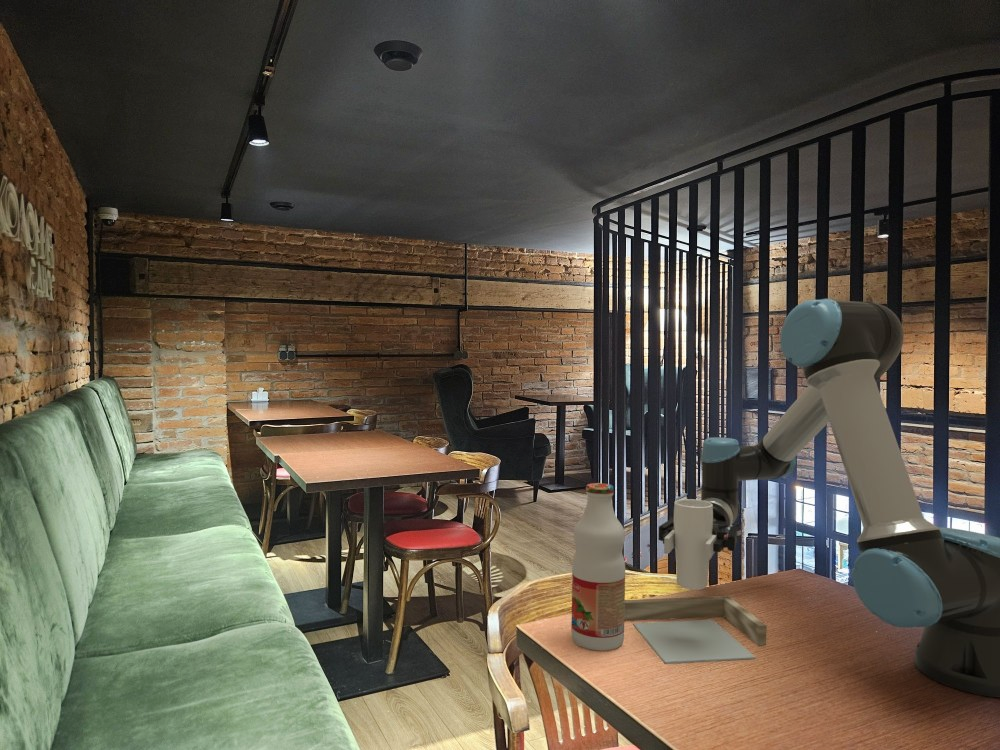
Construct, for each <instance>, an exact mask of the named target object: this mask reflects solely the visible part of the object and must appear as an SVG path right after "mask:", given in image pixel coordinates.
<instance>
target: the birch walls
mask: <svg viewBox="0 0 1000 750" xmlns="http://www.w3.org/2000/svg"><path fill="white" fill-rule="evenodd" d="M721 617H722V618H725V619H726V620H728V621H729V622H730V623H731V624H732V625H733V626H734V627H736V628H737V629H738V630H739V631H740V632H742V633H743V634H744V635H745V636H747V638H748V639H750V640H751V641H753V642H754V643H755V644H756V645H757V646H766V645H767V629H768V628H767V626H768V625H766V624H765V623H764V622H763V621H761V620H760V619H759V618H757V616H755V615H754V614H752V613H751V612H750V611H748V609H745V608H744V606H742V605H740V604H739V603H738V602H737V601H735V600H734V599H732V598H731V597H730V596H728V595H720V596H718V595H717V596H694V597H665V598H662V597H661V598H642V599H641V598H640V599H639V598H638V599H625V615H624V622H627V621H629V620H630V621H648V620H649V621H653V620H671V619H670V618H678V619H701V618H721ZM626 620H627V621H626ZM630 621H629V622H630Z"/></svg>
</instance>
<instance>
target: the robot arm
mask: <svg viewBox="0 0 1000 750" xmlns="http://www.w3.org/2000/svg"><path fill="white" fill-rule="evenodd" d="M779 339H780V341H779V342H780V348H781V349H780V350H781V353H782V354H783V357H784V358H785V359H786V361H787V362H789V363H791V364H792V365H794V366H796V367H799V368H802V372H803V374H804V377H805V380H806V383H807V384H808V386H807V387H806V388H805V389H804V391H802V393H801V394H800V395H799V396H798V397H797V399H796V400H795V401H794V402H793V403H792V404H791V405H790V406H789V408H788V409H787V410H786V411H785V412H784V414H782V416H781V417H780V418H779V420H777V421H776V423H774V425H772V427H771V428H770V429H769V431H768V432H766V434H765V435H764V437H762V439H761V440H760V441H759V442H758V443H757V444H755V445H740V444H739V441H738V439H735V438H730V437H715V436H714V437H707V438H706V439H704V441H703V442H702V448H701V451H702V452H701V458H700V459H701V488H700V489H701V491H700V495H701V496H700V500H702V501H707V502H710V503H712V505H713V530H712V537H711V538H709V540H708V541H707V542H706V544H705V560H709V561H710V560H711V559H712V557H713V556H714V554H715V553H720V552H722V551H724V549H726V548H727V551H730V552H734V551H736V545H737V542H738V541H739V540H741V539H742V525H740V524H734V523H736V521H737V519H738V517H739V515H740V510H741V509H740V501H739V497H738V495H739V494H738V493H739V482H741V481H743V482H744V481H756V480H757V481H758V480H778V479H780V478H786V477H788V476H790V475H791V474H793V472H794V470H795V467H796V464H797V462H796V461H797V460H796V457H797V456H798V454H799V453H801V451H802V450H804V449H805V447H806V446H807V445H808V444H809V443H810V442H811V441H812V440H813V439H814V438H815V437H816V436H817V435H818V434H819V433H820V432H821V431H822V430H823V428H824V427H826V425H828V423H829V424H830V427H831V428H830V429H831V430H832V433H833V436H834V437H833V438H834V441H835V443H836V446H837V449H838V452H839V455H840V459H841V462H842V465H843V469H844V470H845V471H844V472H845V474H846V478H847V480H848V484H849V487H850V490H851V493H852V496H853V499H854V502H855V506H856V508H857V512H858V515H859V518H860V521H861V524H862V527H863V529H862V531H861V533H860V535H859V536H858V538H857V539H856V542H857V546H858V548H859V551H860V554H859V555H858V556H857V557H856V559H855V560H854V563H853V564H854V566H853V568H852V569H851V579H852V584H853V588H854V590H855V592H856V594H857V596H858V598H859V600H860V602H861V603H862V604H863V605H864V606H865V608H866V609H867V610H868V611H869V612H870V613H871V614H873V615H875V616H876V617H878V619H880V620H881V621H882V622H884V623H886V624H887V625H890V626H893V627H896V628H906V629H908V628H920V627H921V628H922V627H923V628H924V629H923V632H922V635H921V638H920V642H917V644H916V646H915V649H914V665H915V667H916V668H917V669H918V670H919V671H920V672H921V673H923V674H924V675H925V676H927V677H928V678H930V679H932V680H934V681H936V682H939V683H940V684H942V685H945V686H948V687H951V688H953V689H956V690H959V691H962V692H967V693H971V694H974V695H980V696H984V697H990V698H991V697H992V698H1000V537H997V536H995V535H990V534H985V533H980V532H976V531H970V530H964V529H959V528H952V527H951V528H950V527H940V526H937V525H935V524H933V523H932V522H930V521H928V520H927V519H926V518H925V517H924V515H923V512H922V509H921V507H920V506H921V505H920V503H919V501H918V498H917V494H916V492H915V490H914V486H913V484H912V481H911V478H910V476H909V472H908V470H907V466H906V464H905V461H904V459H903V458H904V457H903V455H902V453H901V450H900V446H899V444H898V440H897V439H896V436H895V433H894V430H893V427H892V424H891V420H890V418H889V416H888V413H887V410H886V407H885V404H884V402H883V398H882V396H881V394H880V393H881V392H880V390H879V387H878V384H877V382H878V380H879V379H881V377H882V376H883V375H885V374H886V372H887V371H888V370H889V369H890V368H891V367H892V365H893V364H894V362H895V361H896V360H897V358H898V356H899V354H900V353H901V350H902V348H903V346H904V345H903V344H904V329H903V324H902V322H901V321H900V318H899V317H898V316H897V314H896V313H894V311H892V309H890V308H888V307H887V306H885V305H883V304H880V303H877V302H874V301H873V302H872V301H854V300H853V301H850V300H834V299H831V298H821V299H810V300H809V299H808V300H804V301H803V302H801V303H798V304H797V305H796V306H795V307H794V308H792V309H791V311H790V312H789V313H788V315H787V316H786V317H785V321H784V324H783V325H782V326H781V330H780V336H779ZM733 524H734V525H733ZM726 535H727V537H725V536H726ZM657 536H658V537H657V539H658V541H660V542H662V544H663V553H664V554H666V555H667V554H670V553H671V552H672V550H673V549H675V538H674V515H673V516H669V519H668V520H667V521H665V522H664V523H662V524H661V525H659V526H658V535H657Z"/></svg>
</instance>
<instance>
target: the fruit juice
mask: <svg viewBox="0 0 1000 750" xmlns="http://www.w3.org/2000/svg"><path fill="white" fill-rule="evenodd" d="M614 488H615V487H614V486H613V484H609V483H601V482H595V483H588V484H587V485H586V486H585V491H586V493H585V495H586V496H587V502H586V506H585V509H584V512H583V514H582V516H581V517H580V519H579V520H578V521H577V523H576V524H575V526H574V529H573V541H574V545H575V553H574V554H573V559H572V564H571V565H572V568H571V578H572V579H571V624H570V626H571V629H570V630H571V638H572V640H573V642H574V643H575V644H576V645H577V646H579V647H581V646H582V648H584V649H588V650H591V651H604V652H605V651H610V650H615V649H618V648H619V647H621V646H622V645H623V643H624V639H625V621H624V615H625V600H626V562H625V558H624V556H623V548H624V545H625V542H626V541H625V540H626V534H625V533H626V532H625V529H624V527H623V525H622V523H621V522H620V520H619V519H618V518H617V516H616V513H615V510H614V506H613V501H612V499H613V496H614V494H615V493H614V492H615V490H614Z"/></svg>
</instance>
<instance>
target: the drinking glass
mask: <svg viewBox="0 0 1000 750" xmlns="http://www.w3.org/2000/svg"><path fill="white" fill-rule="evenodd" d="M673 505H674V507H673V516H674V538H675V547H674V549H675V562H676V563H675V564H676V565H675V566H676V583H677V585H678V586H679V587H681V588H683V589H686V590H691V591H692V590H693V591H700V590H704V589H706V588H707V586H708V584H709V583H708V582H709V581H708V579H709V578H708V576H709V565H710V560H705V544H706V542H707V541H708V540H709V538H711V537H712V530H713V505H712V503H710V502H707V501H702V500H701V499H692V498H689V499H688V498H687V499H686V498H684V499H683V498H682V499H677V500H674V504H673Z"/></svg>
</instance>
